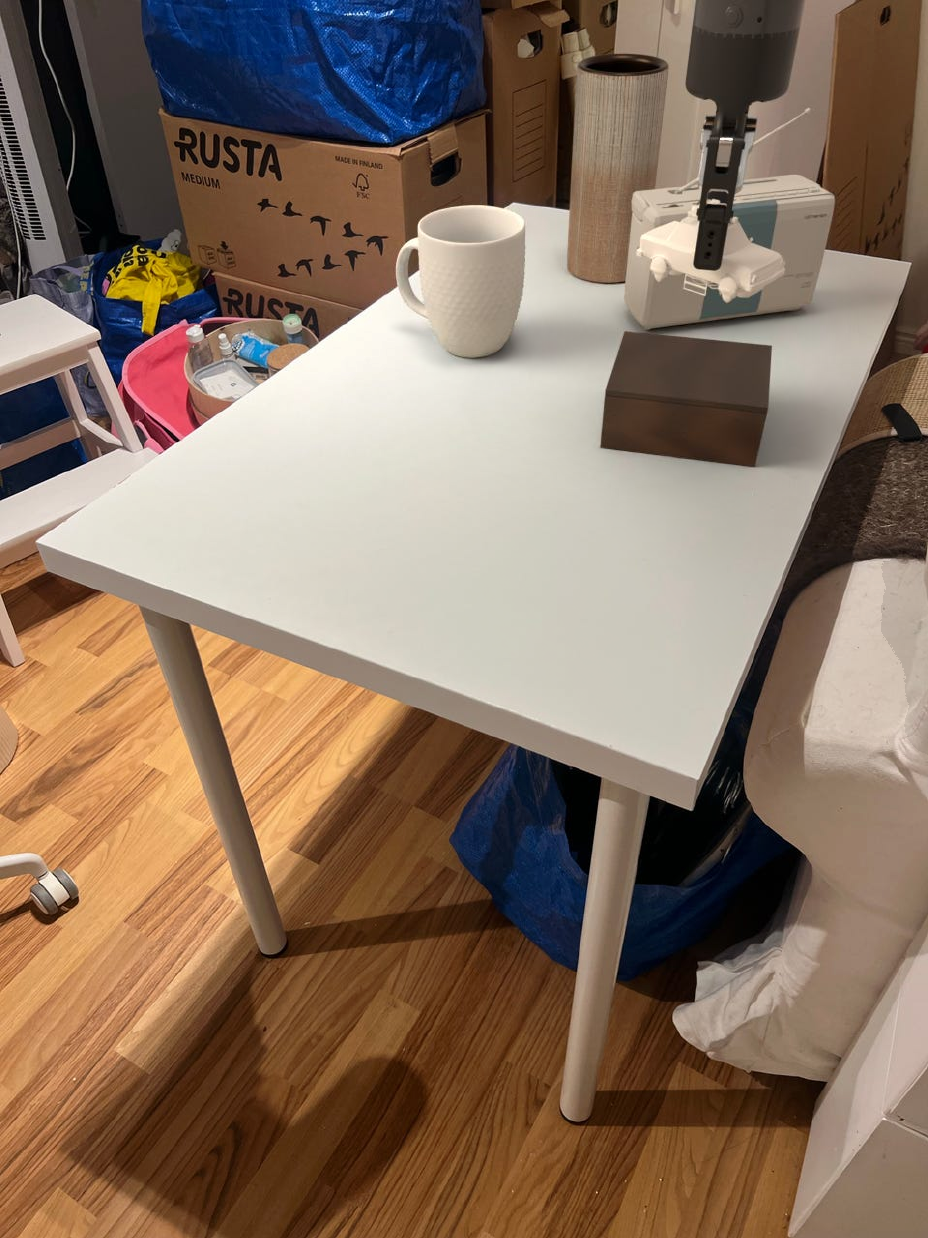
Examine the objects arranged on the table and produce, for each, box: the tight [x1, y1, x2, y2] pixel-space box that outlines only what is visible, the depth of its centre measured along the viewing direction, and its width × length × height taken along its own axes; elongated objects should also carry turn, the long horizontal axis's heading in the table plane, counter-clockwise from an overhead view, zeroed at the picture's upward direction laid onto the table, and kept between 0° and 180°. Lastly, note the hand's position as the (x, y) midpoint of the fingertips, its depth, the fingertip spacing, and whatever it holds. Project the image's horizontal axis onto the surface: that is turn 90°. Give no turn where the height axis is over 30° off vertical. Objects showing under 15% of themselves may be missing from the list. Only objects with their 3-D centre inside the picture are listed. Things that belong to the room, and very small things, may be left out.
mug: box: [395, 204, 526, 359], centre depth 97 cm, size 15×11×13 cm
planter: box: [566, 53, 670, 284], centre depth 108 cm, size 10×10×23 cm
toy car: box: [637, 199, 785, 303], centre depth 76 cm, size 6×12×7 cm, turn 44°
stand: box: [599, 330, 773, 468], centre depth 86 cm, size 14×12×6 cm
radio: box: [623, 107, 836, 331], centre depth 99 cm, size 21×8×20 cm, turn 104°
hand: (710, 250), depth 76 cm, fingers closed on toy car, 7 cm apart
